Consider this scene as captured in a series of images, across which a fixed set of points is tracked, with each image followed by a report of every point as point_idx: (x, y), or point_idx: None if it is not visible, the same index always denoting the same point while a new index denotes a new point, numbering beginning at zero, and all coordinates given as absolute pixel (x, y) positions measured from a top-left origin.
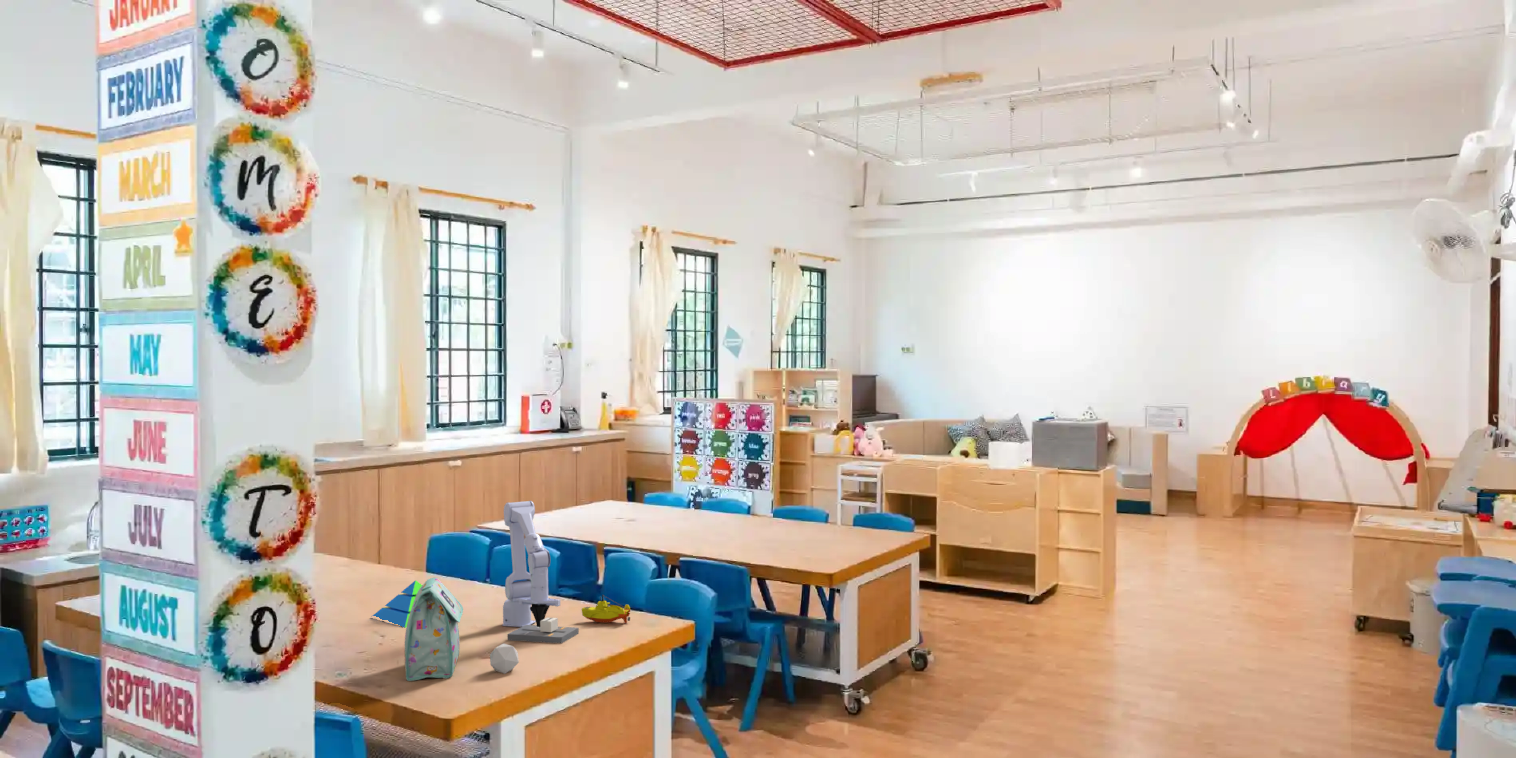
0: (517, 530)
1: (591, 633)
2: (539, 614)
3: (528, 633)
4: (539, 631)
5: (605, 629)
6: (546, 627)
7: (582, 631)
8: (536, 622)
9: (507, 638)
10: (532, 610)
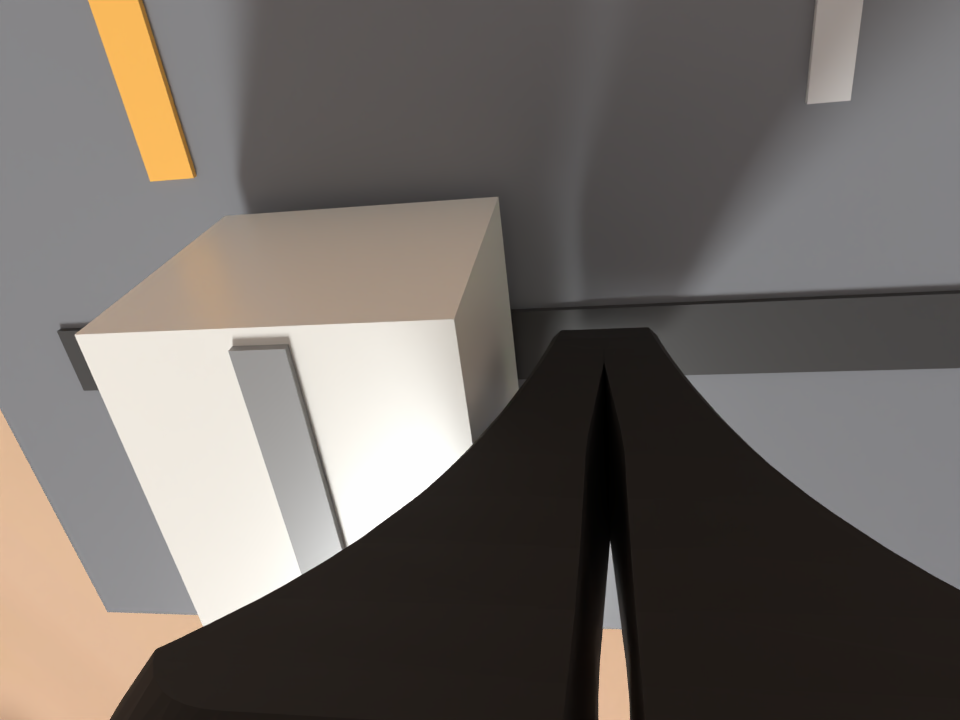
0: None
1: (19, 572)
2: (487, 513)
3: (779, 27)
4: (587, 283)
5: (30, 710)
6: (297, 245)
7: (187, 626)
8: (662, 365)
9: None
10: (927, 641)
